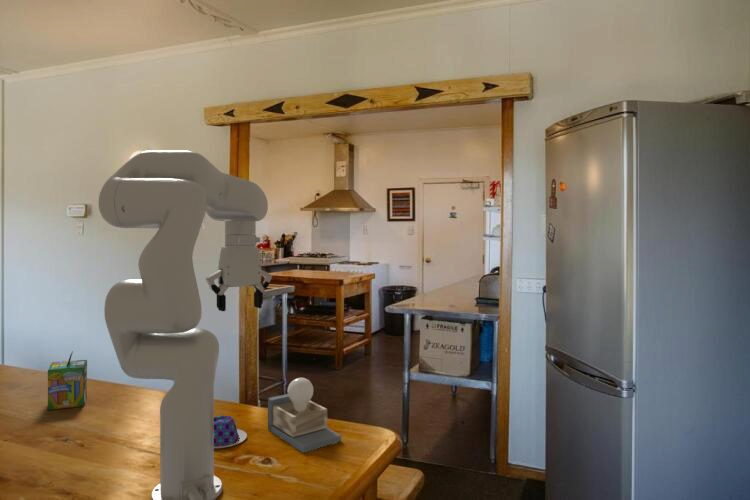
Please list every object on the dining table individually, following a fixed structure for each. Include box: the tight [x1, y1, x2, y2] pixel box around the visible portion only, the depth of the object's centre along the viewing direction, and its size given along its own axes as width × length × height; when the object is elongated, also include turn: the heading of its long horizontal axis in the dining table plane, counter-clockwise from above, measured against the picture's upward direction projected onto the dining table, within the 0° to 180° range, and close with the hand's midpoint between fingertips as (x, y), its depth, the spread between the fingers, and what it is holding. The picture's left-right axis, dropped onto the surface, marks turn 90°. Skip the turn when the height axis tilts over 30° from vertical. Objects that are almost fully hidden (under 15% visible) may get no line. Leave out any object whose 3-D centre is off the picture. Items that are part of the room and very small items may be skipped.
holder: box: [273, 400, 328, 437], centre depth 127 cm, size 10×10×5 cm
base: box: [267, 393, 342, 454], centre depth 125 cm, size 18×10×8 cm, turn 39°
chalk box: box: [47, 351, 88, 411], centre depth 146 cm, size 9×9×15 cm
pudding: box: [214, 415, 248, 449], centre depth 123 cm, size 12×12×5 cm
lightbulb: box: [287, 377, 314, 415], centre depth 127 cm, size 6×6×11 cm
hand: (240, 309), depth 130 cm, fingers open, 9 cm apart
